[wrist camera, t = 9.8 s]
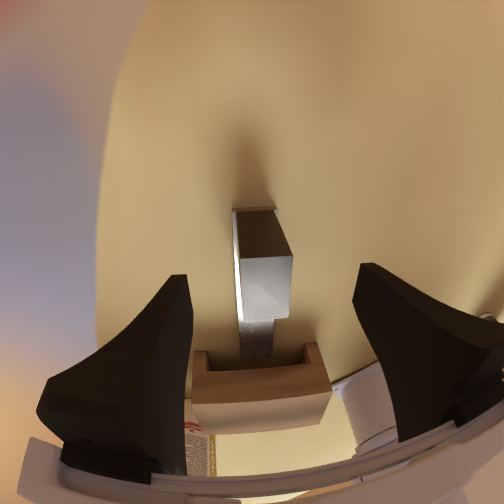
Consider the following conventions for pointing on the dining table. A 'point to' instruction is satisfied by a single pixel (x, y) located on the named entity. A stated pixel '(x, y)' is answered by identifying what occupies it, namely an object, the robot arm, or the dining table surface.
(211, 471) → the juice carton
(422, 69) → the dining table surface
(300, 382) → the walnut u-shaped block
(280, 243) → the brown-topped white block
